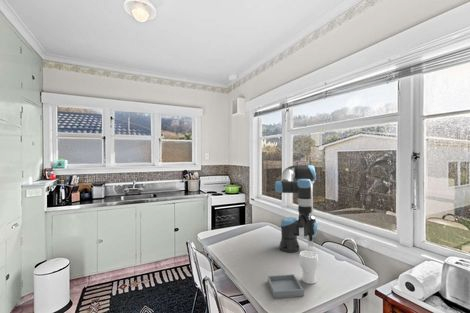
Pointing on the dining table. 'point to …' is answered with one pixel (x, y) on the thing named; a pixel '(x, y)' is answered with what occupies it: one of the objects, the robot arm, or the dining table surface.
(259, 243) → the dining table surface
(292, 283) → the tray
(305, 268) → the cup
